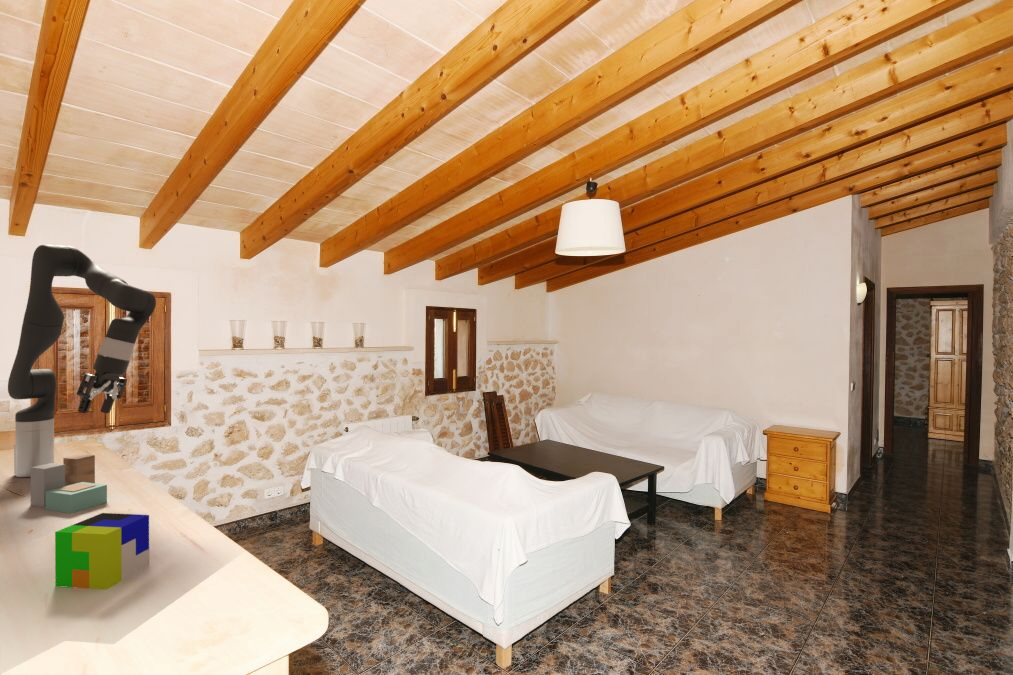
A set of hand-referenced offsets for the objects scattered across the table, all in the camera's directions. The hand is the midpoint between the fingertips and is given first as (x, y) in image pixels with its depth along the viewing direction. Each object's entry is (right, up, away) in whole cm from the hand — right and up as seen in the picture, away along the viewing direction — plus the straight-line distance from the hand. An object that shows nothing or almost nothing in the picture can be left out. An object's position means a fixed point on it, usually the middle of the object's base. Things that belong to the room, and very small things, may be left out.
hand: (93, 412), depth 146 cm
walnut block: (-8, -23, +5) cm, 25 cm away
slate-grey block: (-8, -23, -5) cm, 25 cm away
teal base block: (+1, -24, -7) cm, 25 cm away
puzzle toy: (+37, -25, -46) cm, 64 cm away
